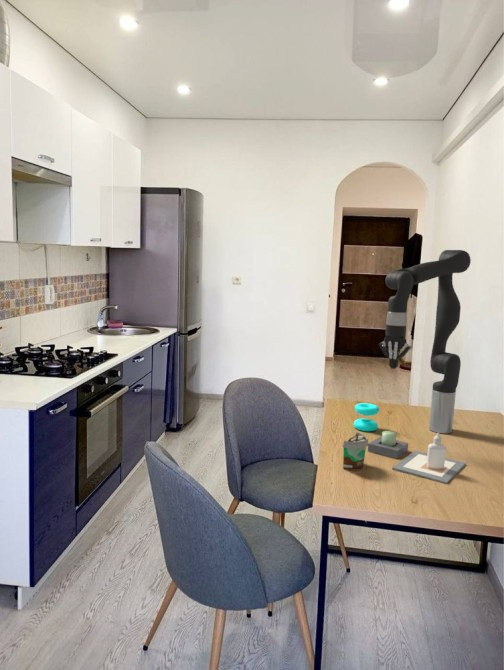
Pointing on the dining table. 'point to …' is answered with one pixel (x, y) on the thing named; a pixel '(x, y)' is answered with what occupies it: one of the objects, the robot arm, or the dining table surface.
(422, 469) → the sketch board
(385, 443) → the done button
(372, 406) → the donuts
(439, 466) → the eye dropper bottle
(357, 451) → the food container
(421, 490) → the dining table surface
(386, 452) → the button housing
